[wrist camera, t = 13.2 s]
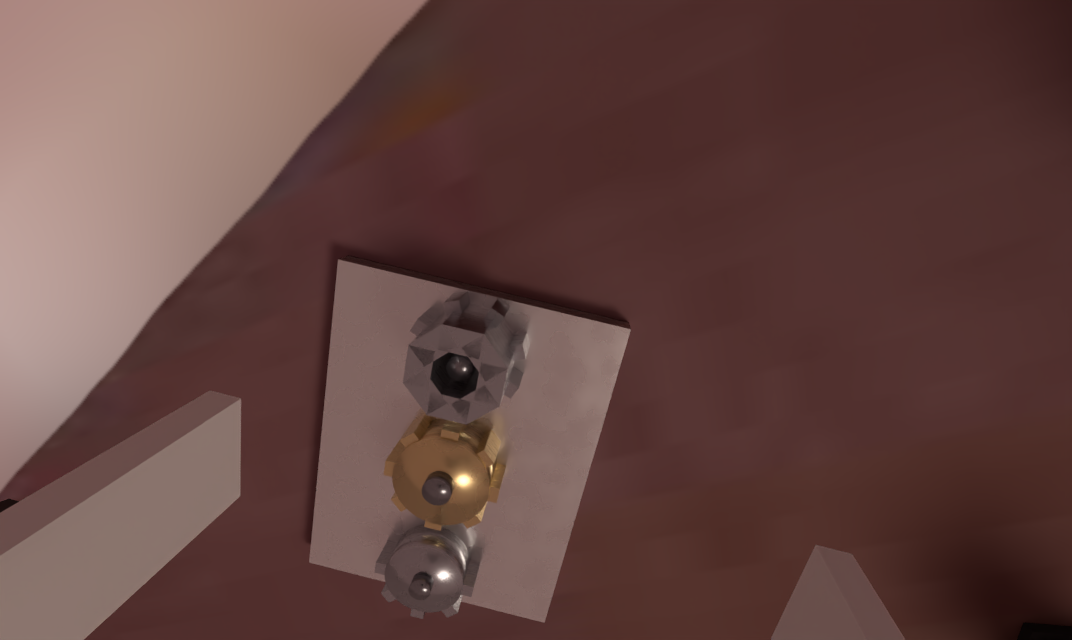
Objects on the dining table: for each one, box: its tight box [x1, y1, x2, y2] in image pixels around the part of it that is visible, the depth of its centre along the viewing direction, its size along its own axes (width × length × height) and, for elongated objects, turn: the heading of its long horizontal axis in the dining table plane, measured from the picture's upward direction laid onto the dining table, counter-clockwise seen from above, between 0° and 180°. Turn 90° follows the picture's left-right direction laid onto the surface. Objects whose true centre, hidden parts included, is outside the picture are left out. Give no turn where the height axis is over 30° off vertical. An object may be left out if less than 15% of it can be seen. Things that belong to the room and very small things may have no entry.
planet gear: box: [403, 291, 530, 425], centre depth 32 cm, size 8×8×5 cm
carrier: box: [309, 256, 631, 622], centre depth 36 cm, size 26×20×6 cm
